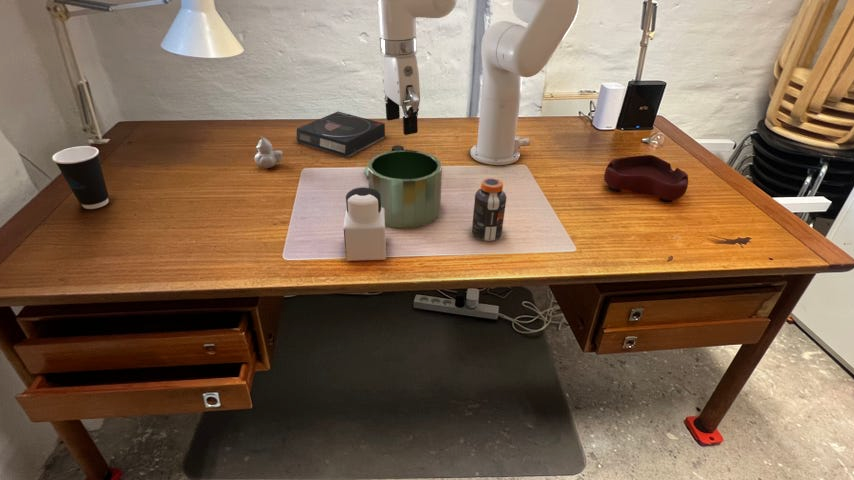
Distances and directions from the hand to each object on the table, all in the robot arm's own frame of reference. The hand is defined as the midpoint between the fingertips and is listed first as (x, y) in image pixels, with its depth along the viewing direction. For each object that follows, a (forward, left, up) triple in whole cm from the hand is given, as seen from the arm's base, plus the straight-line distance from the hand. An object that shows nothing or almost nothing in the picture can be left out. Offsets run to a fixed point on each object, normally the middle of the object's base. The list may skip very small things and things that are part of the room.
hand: (401, 126), depth 115 cm
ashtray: (-49, +29, -12) cm, 58 cm away
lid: (+1, 0, -11) cm, 11 cm away
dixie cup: (+65, -12, -12) cm, 67 cm away
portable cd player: (+7, -25, -12) cm, 28 cm away
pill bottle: (-4, +32, -12) cm, 34 cm away
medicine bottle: (+19, +28, -12) cm, 36 cm away
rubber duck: (+28, -16, -12) cm, 34 cm away
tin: (+7, +17, -12) cm, 22 cm away
